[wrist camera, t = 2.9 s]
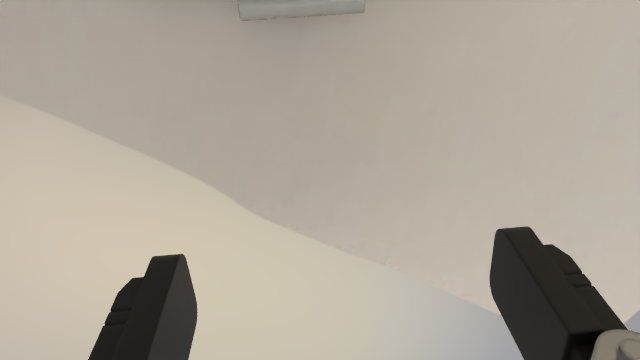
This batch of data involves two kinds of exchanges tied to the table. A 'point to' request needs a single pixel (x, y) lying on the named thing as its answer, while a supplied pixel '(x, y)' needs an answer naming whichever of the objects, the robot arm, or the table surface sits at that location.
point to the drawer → (296, 8)
